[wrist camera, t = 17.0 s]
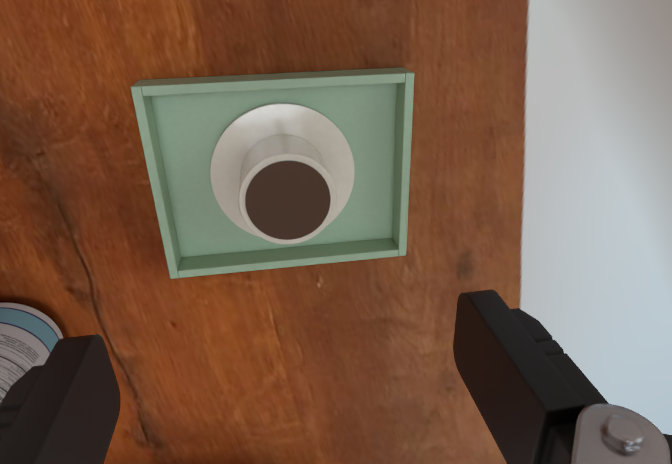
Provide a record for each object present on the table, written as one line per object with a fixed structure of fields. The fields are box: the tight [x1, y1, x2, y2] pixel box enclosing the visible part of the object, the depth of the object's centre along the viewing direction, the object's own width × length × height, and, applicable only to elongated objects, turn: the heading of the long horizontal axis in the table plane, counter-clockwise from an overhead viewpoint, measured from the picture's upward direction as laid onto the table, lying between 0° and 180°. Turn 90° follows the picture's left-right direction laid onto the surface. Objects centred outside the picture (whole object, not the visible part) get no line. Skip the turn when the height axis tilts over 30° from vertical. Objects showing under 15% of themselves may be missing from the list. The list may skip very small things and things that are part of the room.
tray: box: [131, 67, 414, 279], centre depth 33 cm, size 17×13×3 cm
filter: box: [210, 102, 355, 244], centre depth 32 cm, size 10×10×5 cm
